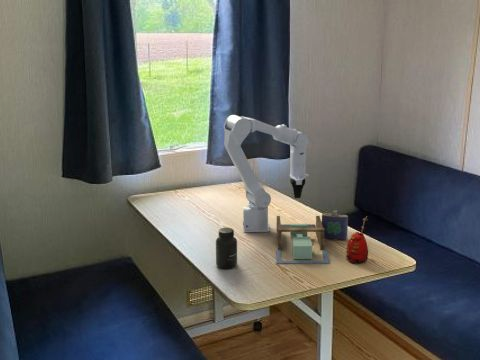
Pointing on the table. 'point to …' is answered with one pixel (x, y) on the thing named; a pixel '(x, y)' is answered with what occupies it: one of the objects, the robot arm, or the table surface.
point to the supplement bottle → (226, 249)
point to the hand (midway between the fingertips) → (297, 197)
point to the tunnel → (318, 230)
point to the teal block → (301, 243)
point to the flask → (335, 226)
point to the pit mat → (289, 226)
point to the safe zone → (325, 255)
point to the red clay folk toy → (357, 247)
